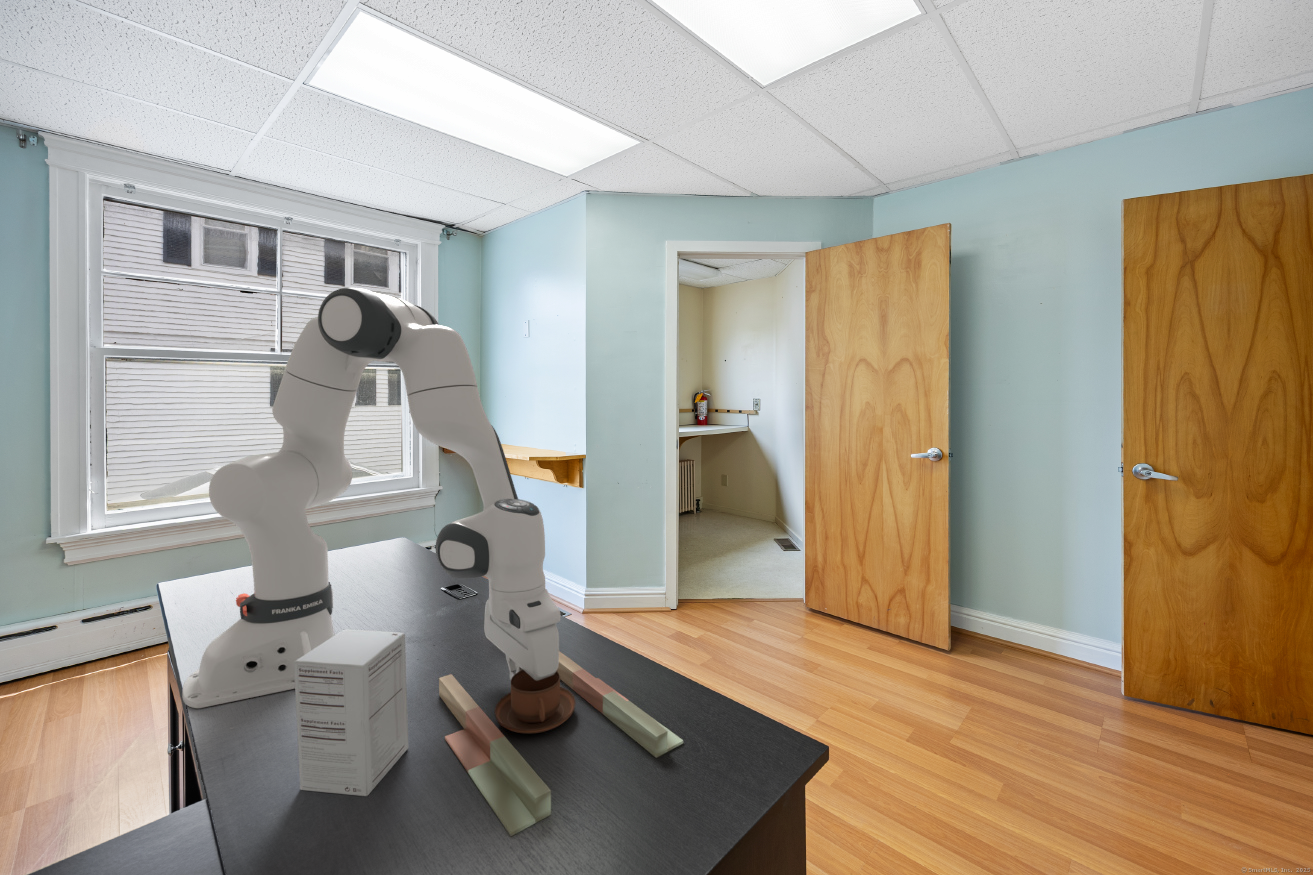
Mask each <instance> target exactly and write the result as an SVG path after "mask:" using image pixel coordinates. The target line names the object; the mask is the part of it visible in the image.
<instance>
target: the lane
mask: <svg viewBox="0 0 1313 875" xmlns="http://www.w3.org/2000/svg"><path fill="white" fill-rule="evenodd" d="M557 672H558V673H559V674H560V681H562V682H563V683H564V684H565V685H566V686H568V687H569V688H570V689H571V690H573V691H574V692H575V693H576V694H577V695H579V696H580V697H581V698H582V699H584V700H585V701H586V702H587V703H588V704H590V705H591V706H592V707H594V708H595V709H596V710H597V711H598V712H599V713H601V714H602V715H604V717H605V718H607V719H608V720H609V721H610V722H611V723H613V724H614V725H615V726H616V727H618V728H619V729H620V730H622V731H623V732H624V733H625V734H627V736H629V737H630V738H631V739H632V740H634V741H635V742H637V743H638V744H639V746H641V747H642V748H644V749H645V750H646V751H647V752H648V753H650V755H652V757H655V758H656V759H657V758H659V757H661V756H662V755H665V754H666V753H668V752H670V751H672V750H673V749H675V748H677V747H680V746H681V745H683V744H684V740H683V739H682V738H680V737H679V736H678V735H677V734H676V733H674V732H672V731H671V730H670V729H669V728H667V727H665V726H664V725H663V724H661V723H660V722H658V721H657V720H656V719H655V718H653V717H652V716H651V715H649V713H647V712H645V711H644V710H643V709H641V707H638V705H636V704H634V703H633V702H632V701H630V700H629V699H628V698H626V697H625V696H624V695H622V694H621V693H619V692H618V691H616V690H615V689H614V688H613V687H612V686H610V685H608V684H607V683H606V682H604V681H603V680H602V679H601V678H599V677H595V676H593V675H592V674H591V673H590V672H588V671H587V670H585V669H584V668H583V667H582V666H580V665H579V664H578V663H576V662H574V660H572V659H571V658H570V657H568V656H567V655H566V654H564V653H563V652H561V651H560V650H559V664H558V669H557ZM438 691H439V693H438V694H439V695H438V696H439V697H440V698H441V700H442V701H443V703H445V705H446V707H447V708H448V709H449V711H450V712H451V714H452V715H453V716H454V717H455V718H456V720H457V721H458V723H459V724H460V725H461V726H462V728H463V729H461V730H458V731H456V732H453V733H450V734H448V735H445V736H444V739H445V741H446V743H447V744H448V746H449V747H450V748H451V750H452V752H453V753H454V754H455V756H456V758H457V760H459V762H460V763H461V765H462V766H463V767H464V769H465V771H466V772H467V774H468V775H469V776H470V778H471V780H472V782H474V784H475V785H476V787H477V788H478V790H479V791H480V793H481V795H482V796H483V797H484V799H485V800H486V802H487V803H488V805H489V807H490V808H491V809H492V811H493V812H494V814H495V815H496V816H497V818H498V820H499V821H500V823H501V824H502V825H503V827H504V828H505V829H504V830H506V832H507V833H508V834H509V835H510V837H512V836H514V835H516V834H518V833H520V832H522V831H524V830H525V829H527V828H529V827H531V826H533V825H534V824H537V823H538V822H541V821H542V820H544V819H545V818H548V817H549V816H551V815H552V790H551V788H549V787H548V785H547V784H546V783H545V782H544V780H542V778H541V777H540V776H539V775H538V774H537V773H536V771H535V769H533V768H532V767H531V765H530V764H529V763H528V762H527V761H526V759H525V758H524V757H523V756H522V755H521V753H520V752H519V751H518V750H517V749H516V748H515V747H514V745H512V743H511V742H510V740H508V738H507V737H506V736H505V735H504V734H503V732H501V730H500V729H499V727H497V726H496V725H495V723H494V722H493V721H492V719H491V718H489V716H488V715H487V714H486V713H485V712H484V710H483V709H482V708H481V707H480V706H479V705H478V704H477V702H476V701H475V700H474V699H473V698H472V696H471V695H470V694H469V693H468V692H467V691H466V690H465V688H464V686H462V684H460V682H459V681H458V680H457V679H456V678H455V676H453V674H452V673H450V674H448V675H444V676H441V677H439V678H438Z"/></svg>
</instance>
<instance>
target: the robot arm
mask: <svg viewBox="0 0 1313 875" xmlns="http://www.w3.org/2000/svg"><path fill="white" fill-rule="evenodd" d="M317 314H318V315H317V316H315V317H313V318H311V319H310V320H308V322H307V323H306V324H305V326H304V328H303V330H302V331H301V333H300V334H299V336H298V338H297V339H296V341H295V344H294V345H293V348H292V350H291V352H290V355H289V357H288V360H287V363H286V366H285V368H284V372H283V375H282V378H281V380H280V385H279V387H278V389H277V393H276V395H275V400H274V402H273V405H272V416H273V418H274V420H275V421H276V422H277V423H278V424H279V425H280V426H281V427H282V430H283V431H282V432H283V442H282V445H281V448H280V449H279V450H278V451H277V452H269V453H261V454H253V455H249V456H246V457H243V458H240V459H237V460H234V461H232V462H230V463H228V464H225V465H223V466H221V467H220V468H218V470H216V471H215V473H214V474H213V475H212V477H211V479H210V481H209V487H208V496H209V500H210V503H211V505H212V507H213V508H214V510H215V512H216V513H218V514H219V516H221V517H222V518H224V519H225V520H228V521H230V522H231V523H233V524H234V525H235V526H236V527H237V528H238V530H240V532H241V534H242V535H243V537H244V539H245V540H246V543H247V546H248V548H249V551H250V557H251V566H252V567H251V568H252V576H253V577H252V578H253V594H250V595H249V594H248V593H241V594H239V595H237V596H236V598H235V599H236V600H235V605H236V607H238V608H239V616H240V618H239V619H238V620H237V621H236V622H235V623H233V624H232V625H231V626H229V627H228V628H226V630H225V631H224V632H222V633H221V634H219V635H218V636H217V637H216V638H214V639H213V640H211V641H210V643H208V645H207V647H206V648H205V649H204V651H203V654H202V657H201V659H200V663H199V664H200V665H199V668H198V669H197V670H195V671H194V672H193V673H191V674H190V675H189V676H188V677H187V678H186V679H185V681H184V682H183V686H182V694H181V696H182V698H181V699H182V702H183V704H185V705H186V706H188V707H190V708H192V709H202V708H206V707H211V706H216V705H221V704H227V703H231V702H235V701H241V700H246V699H249V698H251V699H252V698H254V697H255V698H256V697H259V696H260V697H261V696H265V695H270V694H275V693H279V692H285V691H289V690H293V689H295V675H294V661H296V660H298V659H299V658H301V657H302V656H304V655H305V654H307V653H308V652H310V651H311V650H313V649H314V648H316V647H318V646H319V645H321V644H322V643H324V642H325V641H327V640H328V639H330V638H331V637H333V636H335V635H336V634H335V630H334V624H333V618H332V614H333V609H334V596H333V587H332V584H331V582H330V581H329V580H330V579H329V558H328V557H329V556H328V544H327V542H326V540H325V539H324V537H321V536H320V535H318V534H316V533H314V531H313V530H312V528H311V526H310V524H309V521H308V517H307V510H308V509H312V508H316V507H318V506H319V507H320V506H322V505H325V504H327V503H329V502H331V501H333V500H335V499H336V498H338V497H339V496H341V495H342V494H344V493H345V492H346V491H347V490H348V489H349V487H350V486H351V484H352V481H353V480H352V479H353V469H352V466H351V464H350V462H349V460H348V459H347V457H346V456H345V449H344V448H345V446H344V445H345V443H344V442H345V432H346V426H347V423H348V420H349V416H350V413H351V410H352V407H353V404H354V401H355V398H356V394H357V392H358V388H359V386H360V382H361V379H362V376H363V373H364V370H365V369H366V367H367V366H368V365H369V364H370V363H372V362H374V361H376V362H382V363H392V364H393V363H394V364H396V365H397V366H398V367H399V369H400V371H401V372H402V375H403V380H404V384H405V391H406V397H407V402H408V408H409V412H410V417H411V420H412V422H413V425H414V427H415V428H416V431H417V433H419V434H420V435H421V436H422V437H423V438H424V439H426V440H427V441H429V442H430V443H432V444H433V445H436V446H438V447H440V448H445V449H447V450H450V451H452V452H455V453H456V454H458V455H459V456H461V457H462V458H463V459H465V460H466V461H467V463H468V464H469V466H470V467H471V469H472V473H473V475H474V478H475V481H476V484H477V488H478V491H479V494H480V497H481V500H482V503H483V510H482V511H480V512H477V513H476V514H475V513H474V514H473V515H470V516H467V517H464V518H461V519H460V518H459V519H457V520H455V521H452V522H451V523H449V524H446V525H444V526H443V527H442V528H441V529H440V531H439V532H438V535H437V537H436V541H435V557H436V559H437V562H438V564H439V566H440V567H441V569H442V570H443V572H445V573H446V574H447V575H449V576H451V577H453V578H454V579H455V578H456V579H475V578H480V577H486V578H487V579H488V590H489V591H488V594H489V595H488V599H487V600H486V602H485V605H484V606H485V607H484V620H483V621H484V622H483V627H484V628H483V629H484V635H485V638H486V639H487V640H489V642H491V643H492V644H493V645H494V646H495V647H497V648H498V649H499V650H500V651H501V652H502V653H503V654H504V655H505V659H506V663H507V667H508V670H509V680H510V681H511V679H512V677H513V676H514V675H515V674H516V673H518V672H519V671H521V670H524V671H525V672H526V673H527V674H529V675H530V676H531V677H532V678H533V679H534V680H536V681H537V680H541V679H544V678H547V677H550V676H552V675H554V674H555V673H556V671H557V669H558V664H559V651H560V634H559V630H558V627H557V624H556V623H559V622H560V621H561V610H560V608H559V607H558V605H557V604H556V603H555V601H554V600H553V599H552V597H551V595H550V593H549V591H548V589H546V575H545V573H544V561H545V557H546V534H545V524H544V519H543V515H542V512H541V510H540V509H539V507H538V506H537V505H535V503H532V502H530V501H529V500H528V501H527V500H524V499H519V497H518V495H517V490H516V488H515V484H514V481H513V477H512V474H511V471H510V468H509V465H508V461H507V457H506V455H505V451H504V449H503V446H502V443H501V440H500V437H499V434H498V433H497V431H496V429H495V427H494V426H493V425H492V424H491V422H490V421H489V419H488V416H487V414H486V412H485V409H484V407H483V404H482V400H481V396H480V393H479V392H480V391H479V388H478V383H477V379H476V375H475V371H474V367H473V363H472V360H471V358H470V354H469V351H468V350H467V347H466V343H465V342H464V338H463V337H462V336H461V335H460V333H459V332H457V331H456V330H455V329H453V328H451V327H449V326H446V325H445V326H444V325H440V323H439V322H438V320H437V319H436V317H434V316H433V315H432V314H431V313H430V312H429V311H428V310H426V309H424V307H421V306H419V305H415V304H414V303H413V304H412V303H411V302H408V301H407V300H404V299H402V298H399V297H396V296H393V295H387V294H382V293H377V292H374V291H372V290H369V289H365V288H359V287H343V288H338V289H336V290H334V291H332V292H331V293H329V294H327V296H326V297H325V298H324V300H323V301H322V302H321V304H320V307H319V310H318V313H317Z"/></svg>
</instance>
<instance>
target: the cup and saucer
mask: <svg viewBox="0 0 1313 875" xmlns="http://www.w3.org/2000/svg"><path fill="white" fill-rule="evenodd" d="M575 707H576V698H575V696H574V694H573V693H572V692H571V691H570V690H568V689H566V688H564V687H562V686H561V680H560V674H559V673H558V672H557V671H556V673H555V674H554V675H552V676H550V677H547V678H544V679H541V680H537V681H536V680H534V679H533V678H532V677H531V676H530V675H529V674H527V673H526V672H525V671H524V670H521V671H519V672H518V673H516V674H515V675H514V676H513V677H512V679H511V680H510V692H508V693H507V694H505V695H504V696H503V697H501V698H500V699H499V701H498V702H497V703H496V705H495V707H494V716H495V720H496V721H497V723H498V724H499V725H500V726H502V727H503V728H505V729H506V730H508V731H511V732H514V733H518V734H525V735H526V734H528V735H529V734H531V735H532V734H539V733H545V732H547V731H550V730H553V729H556V728H557V727H559V726H560V725H562V724H564V722H566V721H567V720H568V719H569V718H570V717H571V716H572V715H573V714H574V711H575Z"/></svg>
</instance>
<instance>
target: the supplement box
mask: <svg viewBox="0 0 1313 875" xmlns="http://www.w3.org/2000/svg"><path fill="white" fill-rule="evenodd" d="M406 654H407V653H406V633H405V632H397V631H384V630H383V631H382V630H381V631H379V630H366V629H363V630H362V629H347V628H345V629H343V630H340V631H339V632H338V633H336V634H335V636H333V637H331V638H330V639H328V640H327V641H325V642H324V643H322V644H321V645H319V646H318V647H316V648H314V649H313V650H311V651H310V652H308V653H307V654H305V655H304V656H302V657H301V658H299V659H298V660H296V661H294V675H295V690H294V691H295V692H294V693H295V709H296V710H295V711H296V713H295V714H296V731H297V736H296V737H297V750H298V751H297V752H298V755H297V756H298V768H299V771H298V772H299V789H300V790H301V791H307V792H319V793H330V794H341V795H351V796H359V797H368V796H369V795H370V793H372V791H373V790H374V789H375V788H376V787H377V785H378V784H379V783H380V782H381V781H382V779H384V777H385V776H386V775H387V774H388V773H389V771H390V770H391V769H392V768H393V767H394V765H396V763H397V762H398V761H399V760H400V759H401V758H402V756H403V755H404V754H405V752H406V751H407V750H408V749H409V728H408V727H409V726H408V721H409V720H408V697H407V696H408V692H407V691H408V690H407V659H406V656H407V655H406Z"/></svg>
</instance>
